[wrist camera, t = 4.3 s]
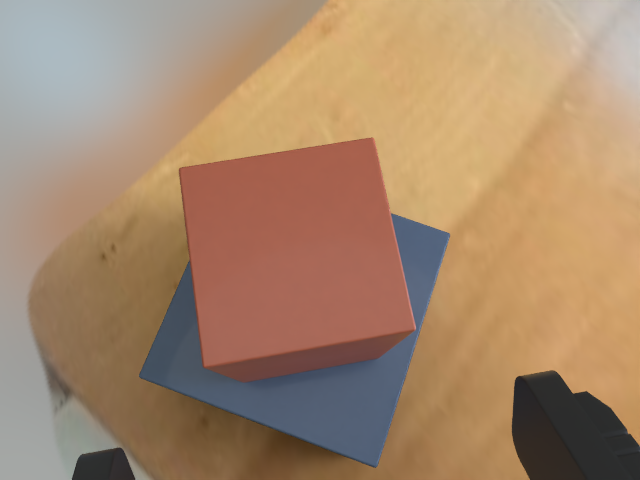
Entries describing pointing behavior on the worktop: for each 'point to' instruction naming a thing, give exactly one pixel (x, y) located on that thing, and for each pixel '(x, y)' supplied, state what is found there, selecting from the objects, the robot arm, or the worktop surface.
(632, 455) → the robot arm
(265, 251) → the top block
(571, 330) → the worktop surface
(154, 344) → the base block
